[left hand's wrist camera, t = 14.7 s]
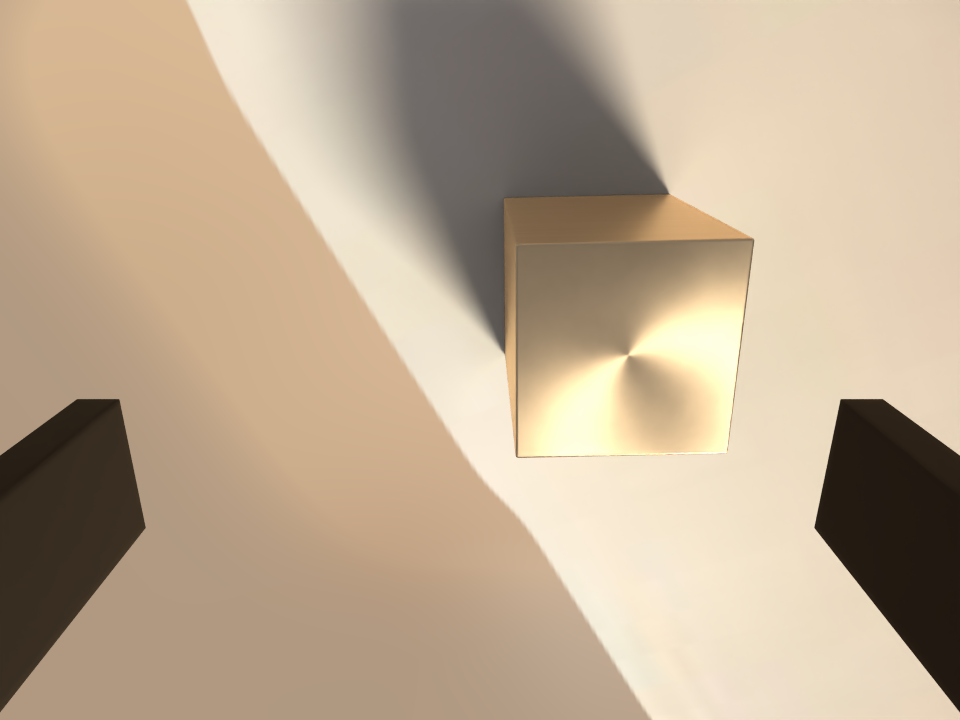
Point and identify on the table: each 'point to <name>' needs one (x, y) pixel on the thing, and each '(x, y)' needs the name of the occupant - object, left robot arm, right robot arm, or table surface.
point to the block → (621, 325)
